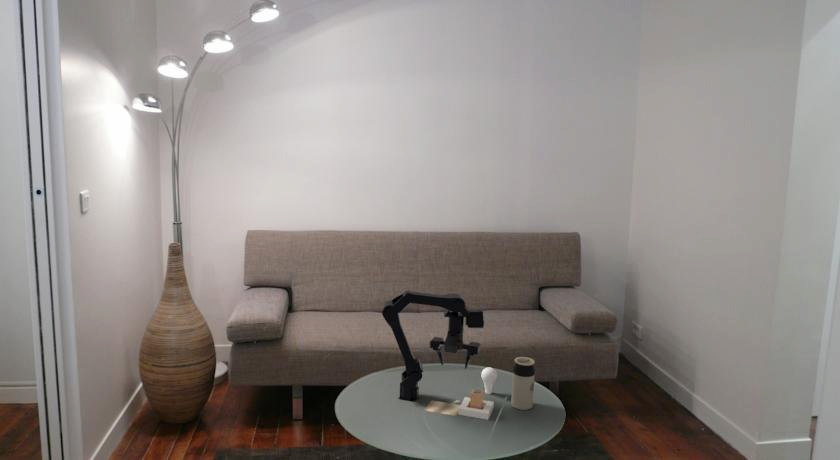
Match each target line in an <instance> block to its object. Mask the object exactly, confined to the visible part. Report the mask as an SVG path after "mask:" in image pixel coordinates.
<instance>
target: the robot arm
mask: <svg viewBox="0 0 840 460" xmlns="http://www.w3.org/2000/svg"><path fill="white" fill-rule="evenodd" d="M409 304H414V305H415V304H417V305H422V306H423V305H424V306H432V307H438V308H439V307H440V308H443V309H445V310H446V311H444V312H443V316H444V317H445V318H448V327H447V330H448V331H447V333H446V338H445V340H444V337H438V336H434V337H433V338H431V340H430V341H429V348H430V349H432V350H433V351H435V352H436V353H437V355H438V357H439V358H438V359H439V361H440V364H441V366H443V365H444V364H445V362H444V361H445V353H452V354H456V353H458V351H462V350H466V357H465V358H466V359H465V364H464V369H465V370H466V369H467V368H468V366H469V364H470V361H471V358H472V357H474V356H475V355H479V353H480V351H481V344H480V342H475V341H469V343H468V344H467V343H464V331H465V330H464V326H467V329H484V325H485V321H484V320H485V319H484V311H483V310H482V309H477V310H472V309H471V310H469V308H468V306H466V302H465V300H464V297H463V296H462V295H461V294H460V293H447V294H434V293H426V292H418V291H411V290H410V289H409V290H405V291H404V292H402V293H401V294H400V295H397V296H395V297H394V298H393V299H391V300H387V301H385V302H384V303H383V304H382V311H381V312H382V317H383V319H384V320H385V322H386V323H387V325H388V326H389V327H390V329H391V331H392V334H393V336H394V338H395V341H396V344H397V346H398V349H399V350H400V353H401V355H402V359H403V361H404V362H403V363H404V366H405V370H404V371H403V372H402V373H401V375H400V376H401V377H400V378H401V381H400V383H399V397H398V398H397V399H398V400H400V401H406V402H413V403H414V402H415V401H416V400H417V399H419V395H420V387H419V382H420V381H422V378H423V373H424V367H423V364H422V363H421V359H420V356H417V357H415V355H414V353H413V352H412V348H411V347H410V343H409V341H408V339H407V336H406V333H405V331H404V328H403V326H402V323H401V318H400V312H402V311H403V310H404V309H405V308H406V307H407V306H408V305H409Z"/></svg>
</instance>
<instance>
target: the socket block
mask: <svg viewBox="0 0 840 460" xmlns="http://www.w3.org/2000/svg"><path fill="white" fill-rule="evenodd" d="M459 405H460V407H459V410H458V413H457V415H459V416H465V417H469V418H470V417H471V418H477V419H482V420H486V421H488V420H489V419H490V416H491V415H492V412H493V410H494V408H495V407H494V406H495V401H492V400H485V399H483V409H482V410H481V409H475V408H470V397H469V396H468V397H467V396H464V398H463V400H462V401H461V403H460V404H459Z"/></svg>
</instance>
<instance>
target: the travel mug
mask: <svg viewBox="0 0 840 460" xmlns="http://www.w3.org/2000/svg"><path fill="white" fill-rule="evenodd" d="M535 362H536V361H535V360H534V359H533V358H531V357H528V356H527V357H526V356H519V357H515V358H514V363H515V364H514V366H513V368H512V385H511V386H512V387H511V400H510V402H511V403H510V405H511V406H512V407H513V408H515V409H518V410H520V411H521V410H523V411H526V410H530V409H532V408H533V403H534V391H535V389H534V387H535V375H536V373H535V371H536V369H535V367H534V365H535Z"/></svg>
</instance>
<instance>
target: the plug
mask: <svg viewBox="0 0 840 460" xmlns="http://www.w3.org/2000/svg"><path fill="white" fill-rule="evenodd" d="M484 393H485V390H482V389H477V388H473V389H472V390H471V391H470V394H469V395H470V397H469V398H470V408H475V409H481V410H482V409H483V400H484Z"/></svg>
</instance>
